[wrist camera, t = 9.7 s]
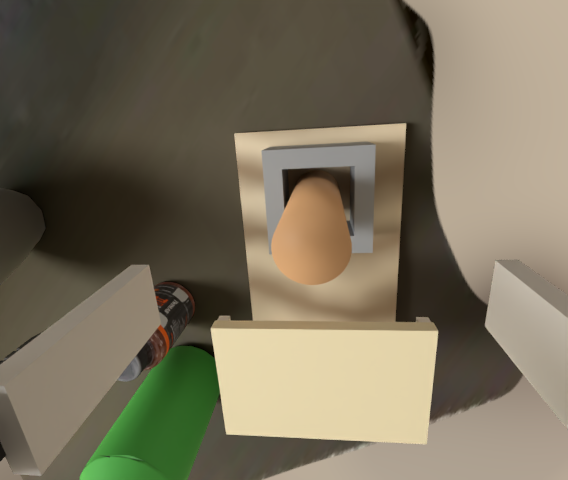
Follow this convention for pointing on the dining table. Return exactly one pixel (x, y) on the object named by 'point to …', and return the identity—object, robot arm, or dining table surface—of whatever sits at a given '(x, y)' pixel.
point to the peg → (313, 232)
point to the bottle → (161, 422)
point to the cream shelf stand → (326, 378)
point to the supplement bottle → (163, 328)
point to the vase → (17, 229)
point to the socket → (320, 156)
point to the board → (386, 226)
